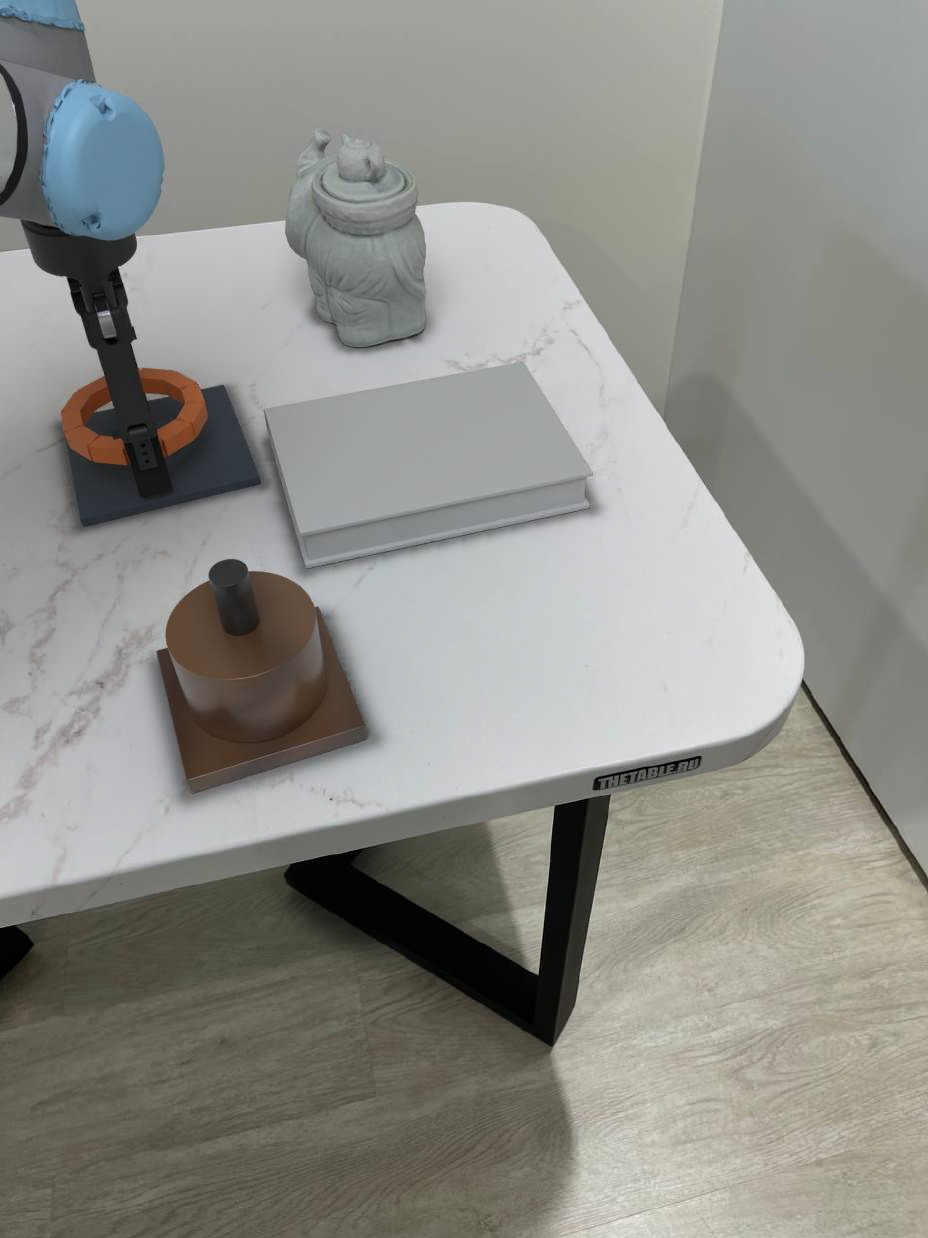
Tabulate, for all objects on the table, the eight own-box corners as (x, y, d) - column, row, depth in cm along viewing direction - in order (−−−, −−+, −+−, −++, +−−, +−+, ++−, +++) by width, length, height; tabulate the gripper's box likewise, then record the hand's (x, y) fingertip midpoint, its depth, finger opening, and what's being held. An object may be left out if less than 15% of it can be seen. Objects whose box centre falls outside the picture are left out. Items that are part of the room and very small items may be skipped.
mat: (83, 526, 84) (80, 519, 83) (64, 426, 93) (61, 419, 93) (261, 483, 87) (259, 476, 87) (225, 391, 97) (223, 384, 96)
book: (593, 472, 82) (299, 532, 77) (589, 508, 85) (305, 569, 80) (519, 354, 94) (261, 400, 89) (518, 389, 97) (268, 436, 92)
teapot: (315, 269, 113) (292, 89, 100) (448, 278, 111) (443, 96, 98) (272, 348, 102) (239, 159, 88) (419, 360, 100) (408, 168, 87)
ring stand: (191, 794, 66) (144, 669, 57) (160, 664, 73) (114, 535, 64) (368, 739, 68) (350, 611, 59) (320, 619, 76) (298, 490, 67)
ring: (75, 477, 81) (69, 462, 80) (60, 400, 89) (55, 384, 88) (218, 445, 84) (215, 429, 83) (192, 372, 91) (189, 357, 90)
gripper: (151, 269, 66) (214, 523, 82) (104, 135, 81) (165, 370, 97) (31, 291, 64) (120, 546, 80) (6, 149, 79) (85, 386, 95)
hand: (145, 450), depth 88 cm, fingers closed on ring, 11 cm apart
